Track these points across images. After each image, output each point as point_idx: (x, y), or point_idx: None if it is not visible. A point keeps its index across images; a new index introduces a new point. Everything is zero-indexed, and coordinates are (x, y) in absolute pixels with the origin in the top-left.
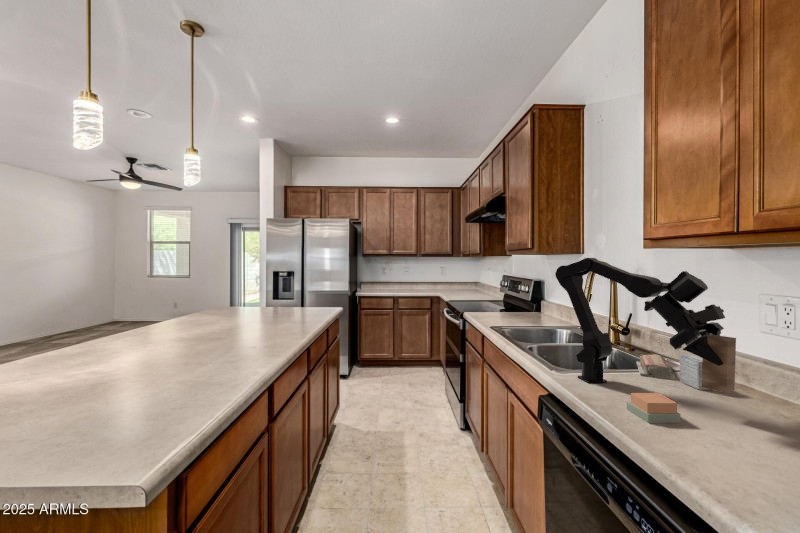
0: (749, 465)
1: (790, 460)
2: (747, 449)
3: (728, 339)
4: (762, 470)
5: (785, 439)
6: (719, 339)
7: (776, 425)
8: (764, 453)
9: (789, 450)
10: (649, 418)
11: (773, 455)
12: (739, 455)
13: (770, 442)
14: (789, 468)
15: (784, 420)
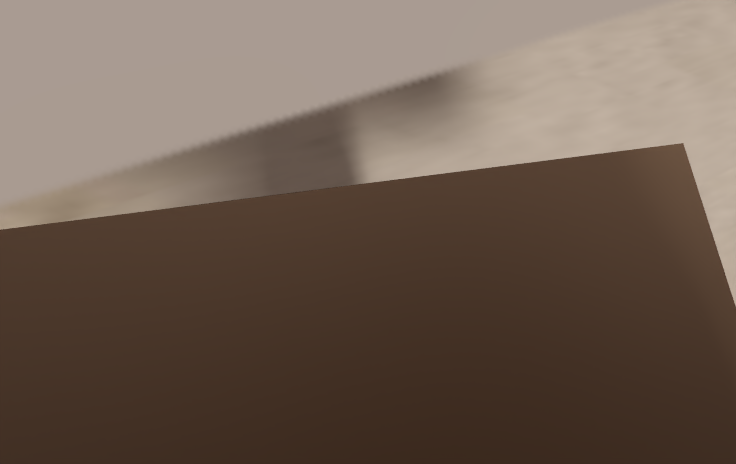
0: (731, 81)
1: (566, 40)
2: (618, 134)
3: (606, 168)
4: (724, 51)
5: (383, 111)
6: (724, 365)
7: (238, 187)
8: (594, 95)
9: (483, 68)
10: None
11: (580, 77)
12: (693, 125)
13: (471, 124)
14: (630, 22)
15: (125, 198)
